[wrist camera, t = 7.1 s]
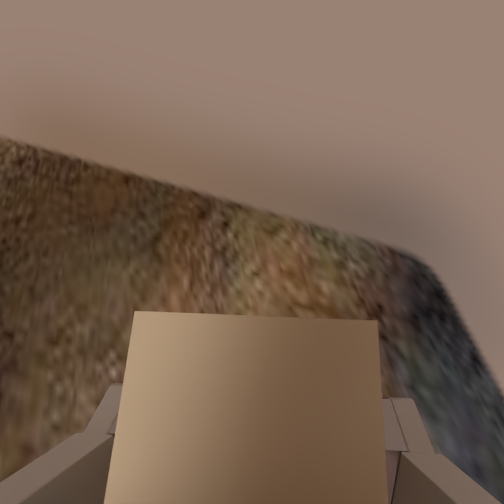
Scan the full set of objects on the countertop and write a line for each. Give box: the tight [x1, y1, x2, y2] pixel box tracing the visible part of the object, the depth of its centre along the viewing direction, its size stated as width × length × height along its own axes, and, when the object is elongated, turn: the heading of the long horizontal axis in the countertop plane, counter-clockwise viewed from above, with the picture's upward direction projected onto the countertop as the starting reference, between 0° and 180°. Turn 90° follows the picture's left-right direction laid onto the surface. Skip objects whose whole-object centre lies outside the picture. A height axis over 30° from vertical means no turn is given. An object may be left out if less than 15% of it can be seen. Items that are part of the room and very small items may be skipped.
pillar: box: [104, 311, 388, 504], centre depth 10 cm, size 4×4×9 cm
